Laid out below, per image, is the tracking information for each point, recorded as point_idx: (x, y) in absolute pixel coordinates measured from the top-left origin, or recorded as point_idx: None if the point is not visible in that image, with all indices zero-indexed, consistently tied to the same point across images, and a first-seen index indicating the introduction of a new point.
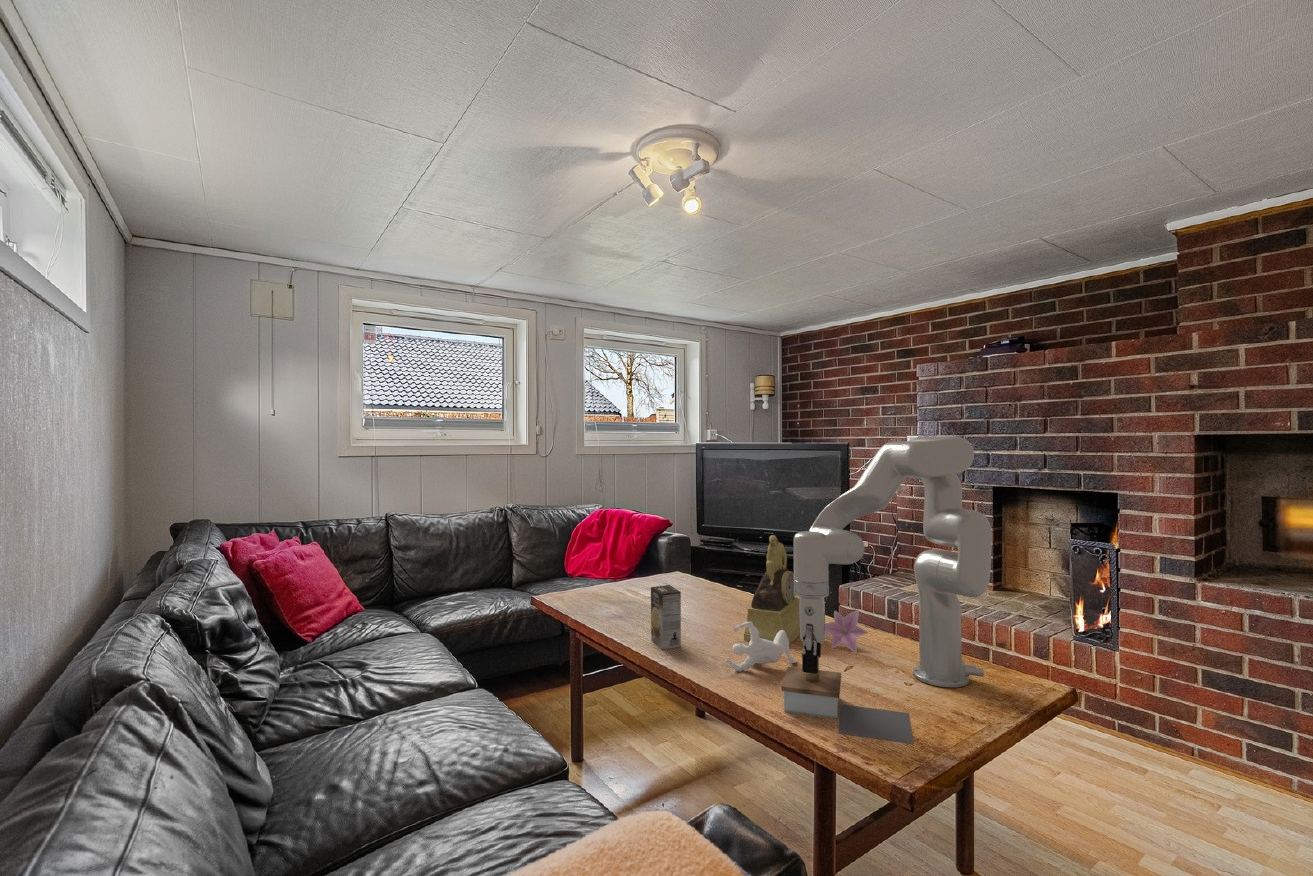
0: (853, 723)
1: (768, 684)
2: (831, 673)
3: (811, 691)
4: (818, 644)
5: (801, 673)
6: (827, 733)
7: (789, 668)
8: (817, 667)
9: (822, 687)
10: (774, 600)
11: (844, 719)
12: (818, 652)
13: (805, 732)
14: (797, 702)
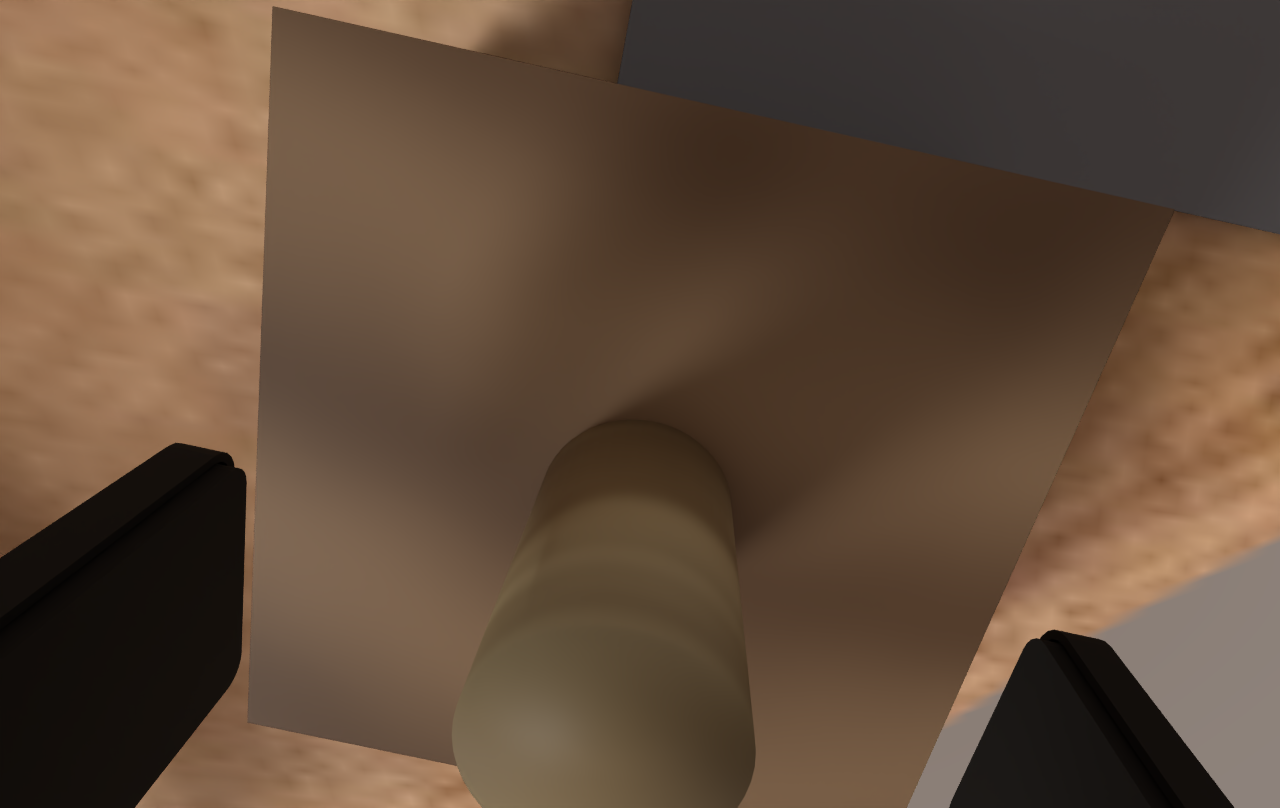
0: (1109, 27)
1: (239, 679)
2: (354, 190)
3: (1003, 560)
4: (37, 666)
5: (448, 608)
6: (1230, 332)
7: (305, 715)
8: (1157, 713)
9: (933, 421)
10: None
11: (1005, 115)
12: (181, 541)
13: (1182, 513)
14: None
